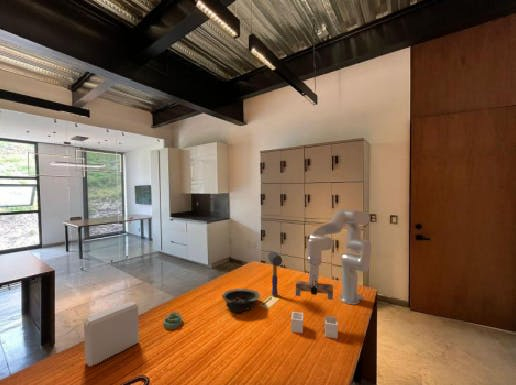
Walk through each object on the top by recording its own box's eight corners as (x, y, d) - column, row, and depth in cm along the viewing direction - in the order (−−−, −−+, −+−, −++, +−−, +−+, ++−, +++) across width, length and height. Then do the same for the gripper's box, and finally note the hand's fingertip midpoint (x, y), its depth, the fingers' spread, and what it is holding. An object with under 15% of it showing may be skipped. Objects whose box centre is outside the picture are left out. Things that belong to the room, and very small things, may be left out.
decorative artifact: (165, 319, 135) (161, 330, 125) (165, 307, 135) (161, 317, 125) (183, 318, 137) (180, 328, 127) (183, 306, 137) (180, 316, 127)
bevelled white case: (133, 336, 120) (132, 298, 119) (140, 343, 115) (139, 303, 114) (83, 360, 104) (82, 317, 103) (89, 370, 99) (87, 324, 98)
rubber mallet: (282, 299, 159) (283, 255, 157) (272, 300, 157) (272, 256, 155) (276, 290, 171) (277, 250, 169) (267, 291, 169) (267, 250, 167)
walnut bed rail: (332, 296, 131) (332, 284, 131) (332, 299, 128) (332, 287, 127) (296, 292, 136) (296, 280, 135) (295, 295, 132) (295, 283, 132)
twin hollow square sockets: (336, 330, 125) (336, 317, 125) (337, 338, 119) (337, 325, 118) (292, 324, 131) (292, 311, 130) (291, 331, 124) (291, 318, 124)
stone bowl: (228, 320, 134) (228, 304, 134) (217, 303, 156) (217, 289, 157) (267, 310, 144) (266, 295, 144) (251, 295, 167) (251, 282, 167)
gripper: (307, 255, 140) (307, 285, 140) (307, 264, 124) (306, 298, 124) (321, 256, 138) (320, 286, 139) (321, 266, 122) (321, 300, 123)
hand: (314, 292), depth 131 cm, fingers closed on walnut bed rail, 3 cm apart
